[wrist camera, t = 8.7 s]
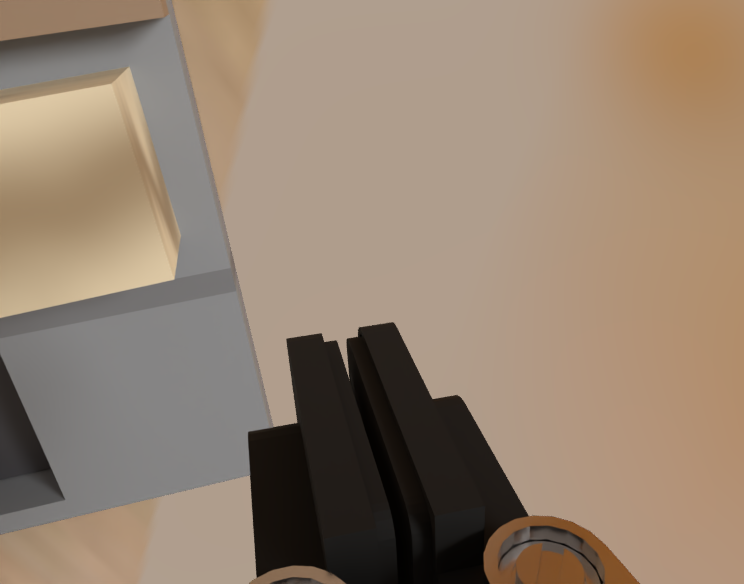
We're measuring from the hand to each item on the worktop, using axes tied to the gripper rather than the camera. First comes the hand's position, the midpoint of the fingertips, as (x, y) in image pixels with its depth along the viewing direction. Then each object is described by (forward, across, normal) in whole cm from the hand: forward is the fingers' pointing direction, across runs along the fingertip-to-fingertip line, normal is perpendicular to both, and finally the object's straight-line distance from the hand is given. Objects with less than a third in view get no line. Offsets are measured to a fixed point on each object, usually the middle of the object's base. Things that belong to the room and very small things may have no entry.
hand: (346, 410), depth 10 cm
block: (+15, +7, 0) cm, 17 cm away
